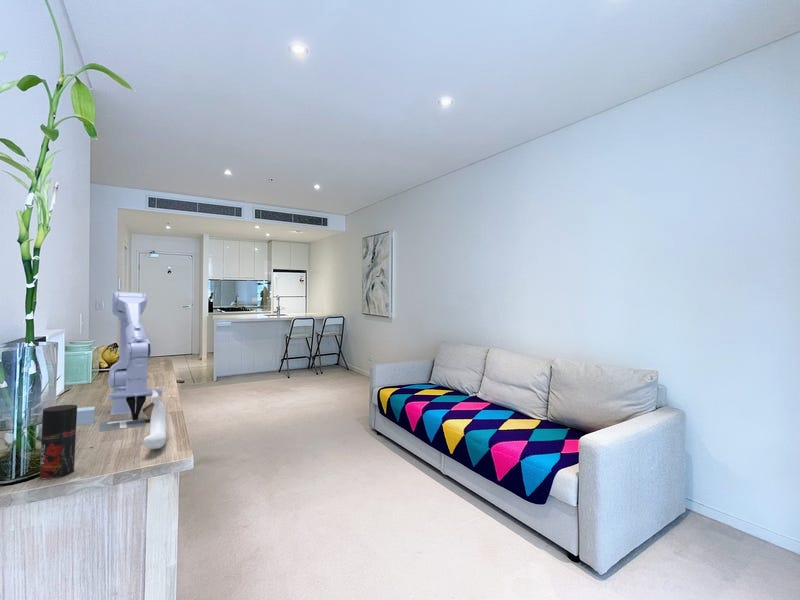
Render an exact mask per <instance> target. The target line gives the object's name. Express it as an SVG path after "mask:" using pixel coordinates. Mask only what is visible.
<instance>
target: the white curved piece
mask: <svg viewBox="0 0 800 600" xmlns="http://www.w3.org/2000/svg"><path fill="white" fill-rule="evenodd" d="M150 397H151V399H153V403H154V404H155V405H154V408H153V410H152V414H151V420H150V419H149V420H150V421H149V435H148V436H146V437H144V438H143V440H142V442H143V446H144V447H145V448H147V449H150V450H158V449H161V448H162V447H164V445H165V443H166V442H167V441H166V440H167V410H166V407H165V405H164V404H163V402H162V401H161V400H160V396H159V394H158V393H157V392H156V391H155V390H152V396H150Z"/></svg>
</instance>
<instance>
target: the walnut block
mask: <svg viewBox="0 0 800 600" xmlns="http://www.w3.org/2000/svg"><path fill="white" fill-rule="evenodd" d="M154 405H155V402H154V401H153V402H151V403H149V404H148V405H147V406H145V407H144V408H141V410H142V412H143V414H144V415H145V416H146V417H147V418H148V419H149V420H151V414H152V410H153V408H154Z"/></svg>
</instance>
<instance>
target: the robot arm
mask: <svg viewBox="0 0 800 600" xmlns="http://www.w3.org/2000/svg"><path fill="white" fill-rule="evenodd" d="M147 302H148V299H147V294H146V293H145V292H129V291H128V292H127V291H126V292H125V291H114V292H113V293H112V303H111V305H112V306H111V311H112V314H113V315H114V316H115V317H117V318H118V321H119V335H118V336H119V344H118V346H119V349H118V350H119V351H118V354H119V355H118V361H117V362H115V363H113V364H112V365H111V366H110V367H109V372H108V383H107V384H108V387H109V388H110V389H112V393H108V401H112V405H111V406H112V408H110V415H111V416H114V415H121V414H131V417H132V420H138V418H139V415H140V413H141V410H142V409H143V408H142V407H143V406H144V404H145V403H146V401H147V397H152V390H155V391H156V392H157V393H158V394H159V397H160V396H163V389H162V388H157V389H156V388H155V389H154V388H153V389H150V388H149V389H147V388H148V387H147V386H148V373H149V372H148V370H149V369H148V366H149V364H148V363H149V359H150V357H151V355H152V354H151V353H152V347H151V342H150V340H149V339H147V331H146V327H145V326H144V325H143V324H142V323H141V322H142V321H141V320H142V319H141V318H142V317H141V316H142V315H143V313H144V312H145V309H146V307H147Z"/></svg>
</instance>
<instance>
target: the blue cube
mask: <svg viewBox="0 0 800 600" xmlns="http://www.w3.org/2000/svg"><path fill="white" fill-rule="evenodd" d="M95 410H96V407H95V406H88V407H85V406H84V407H77V421H76V426H81V425H89V424H90V425H91V424H95Z"/></svg>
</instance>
